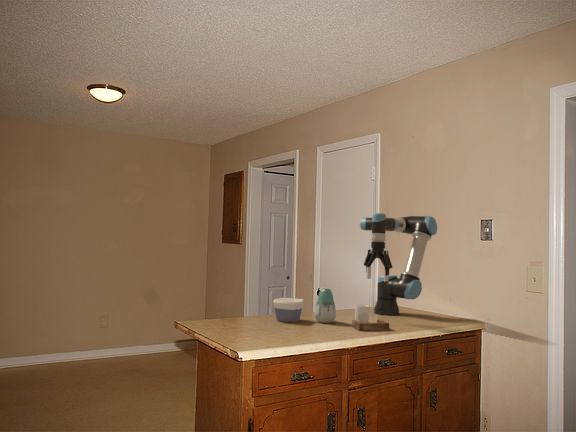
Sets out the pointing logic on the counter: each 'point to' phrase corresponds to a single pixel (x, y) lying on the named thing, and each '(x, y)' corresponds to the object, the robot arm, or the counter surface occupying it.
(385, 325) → the brown wooden tray
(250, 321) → the counter surface
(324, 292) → the vase
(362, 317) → the white cup
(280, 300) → the bowl
